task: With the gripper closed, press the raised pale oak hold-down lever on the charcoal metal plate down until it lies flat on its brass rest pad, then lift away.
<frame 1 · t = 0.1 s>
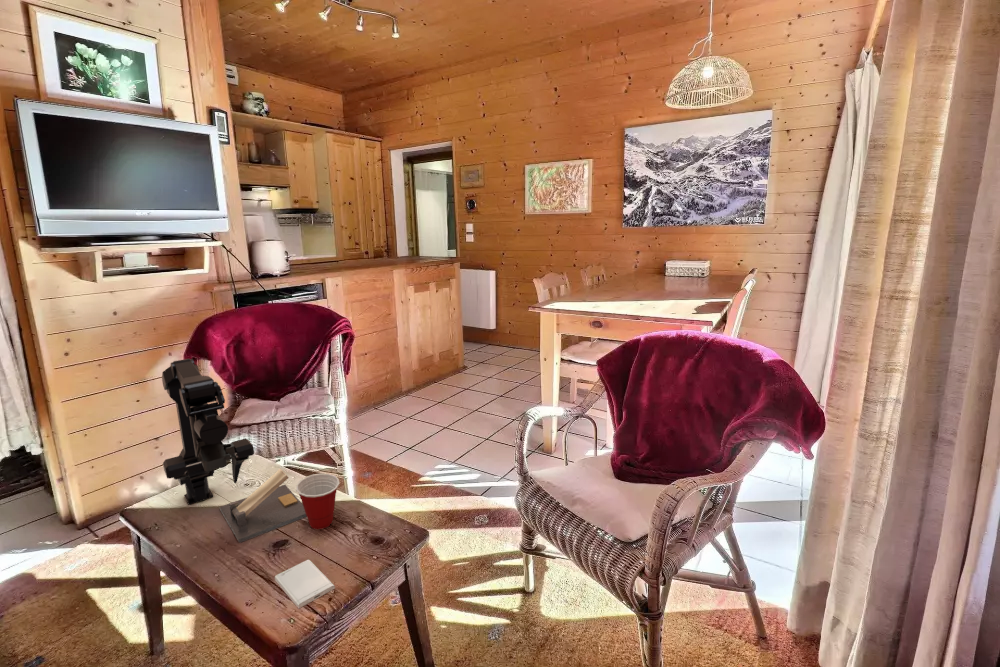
hand: (214, 488, 125), 15 cm above the table, fingers open, 9 cm apart
mounting plate: (264, 512, 140), on the table
lever: (260, 494, 138), point 6 cm above the table, hinge at 30.0°
plastic cup: (322, 524, 134), on the table
hard drive: (304, 586, 112), on the table
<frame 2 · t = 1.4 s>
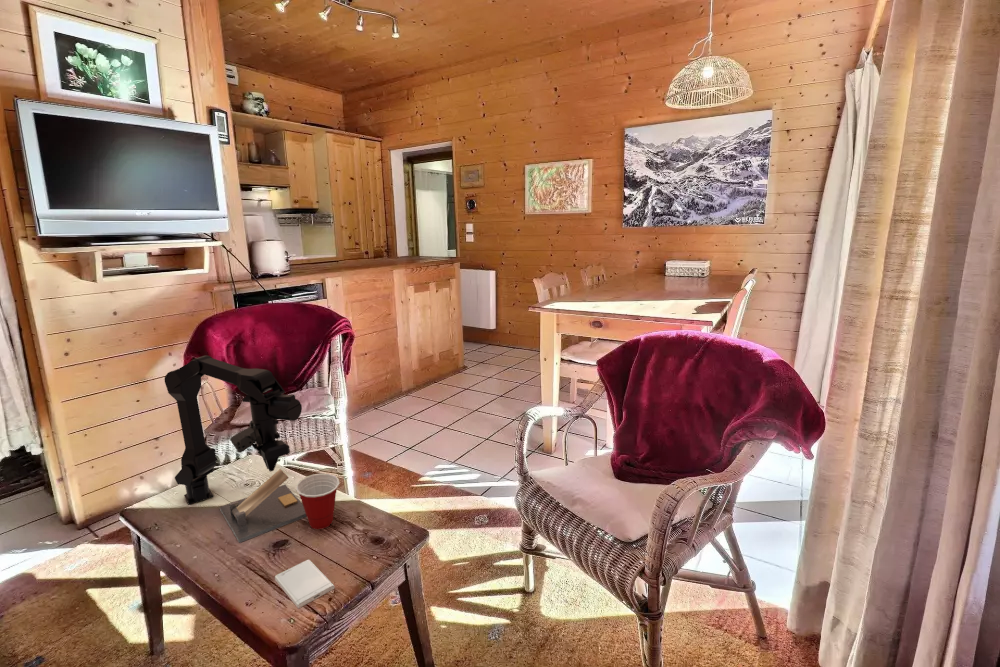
hand: (270, 469, 139), 12 cm above the table, fingers closed
nothing on the table moved.
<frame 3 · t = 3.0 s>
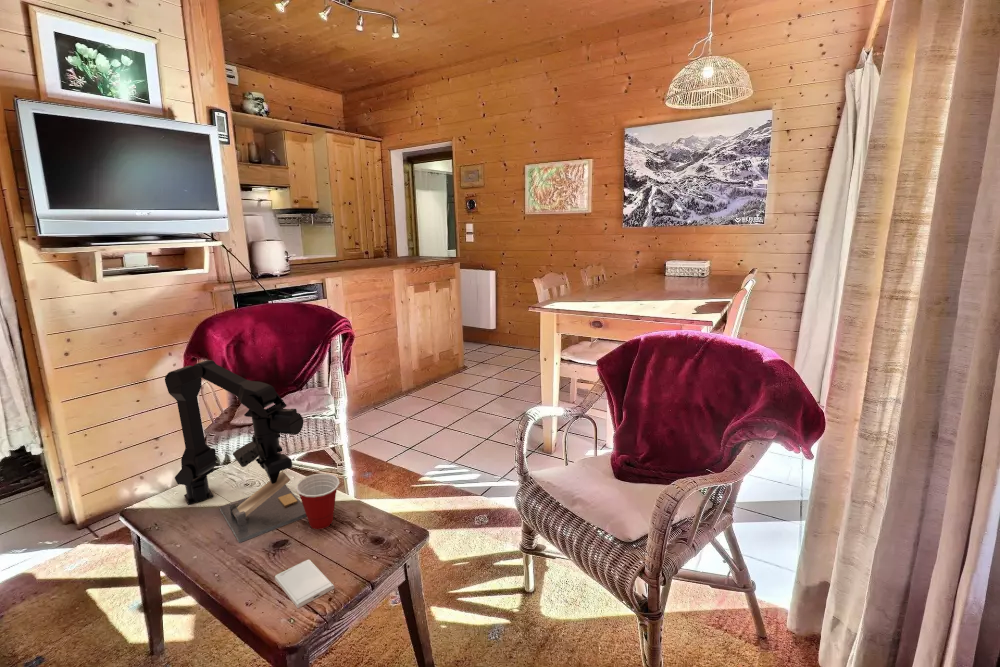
hand: (273, 482, 140), 8 cm above the table, fingers closed, pressing on lever
lever: (261, 495, 139), point 5 cm above the table, hinge at 26.3°, touching gripper
everything else where it was.
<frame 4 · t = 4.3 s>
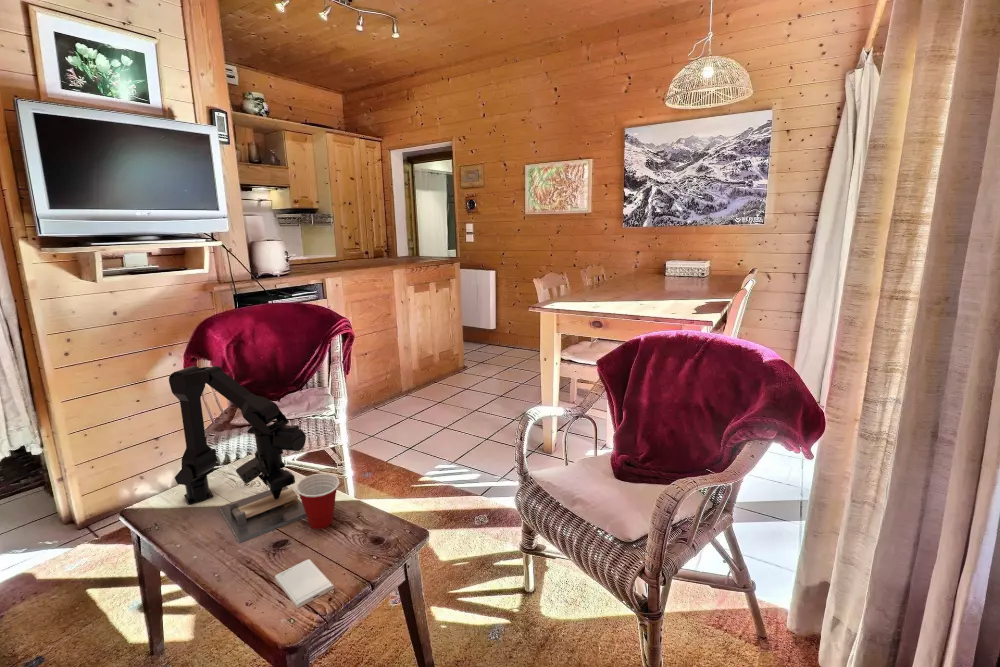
hand: (276, 498, 141), 3 cm above the table, fingers closed, pressing on lever
lever: (265, 504, 140), point 2 cm above the table, hinge at 1.9°, touching gripper
everything else where it was.
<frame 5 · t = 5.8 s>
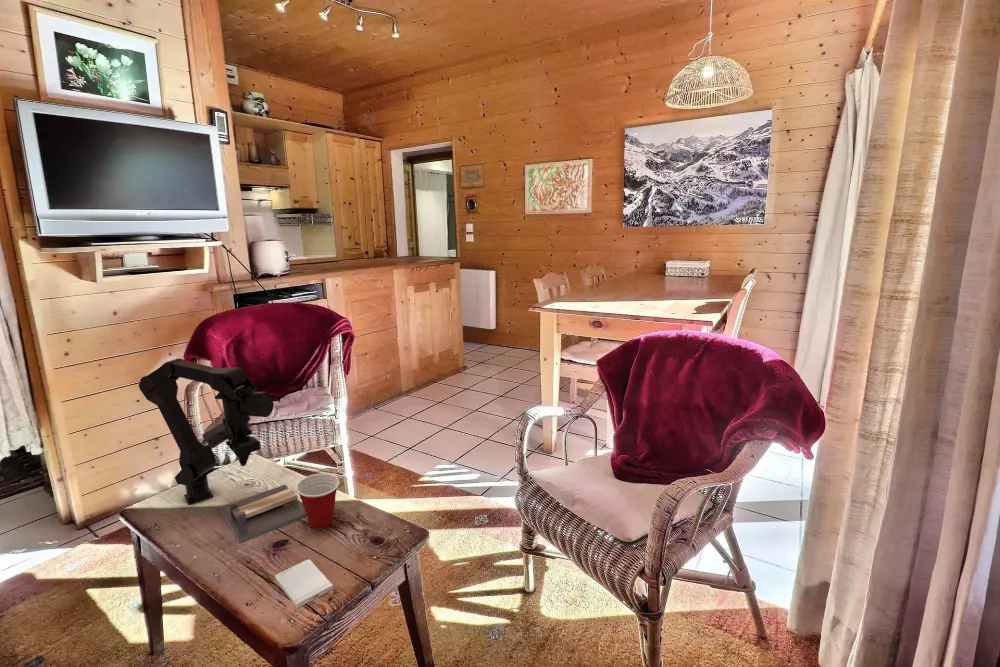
hand: (243, 465, 142), 12 cm above the table, fingers closed
lever: (265, 504, 140), point 2 cm above the table, hinge at 1.7°
everything else where it was.
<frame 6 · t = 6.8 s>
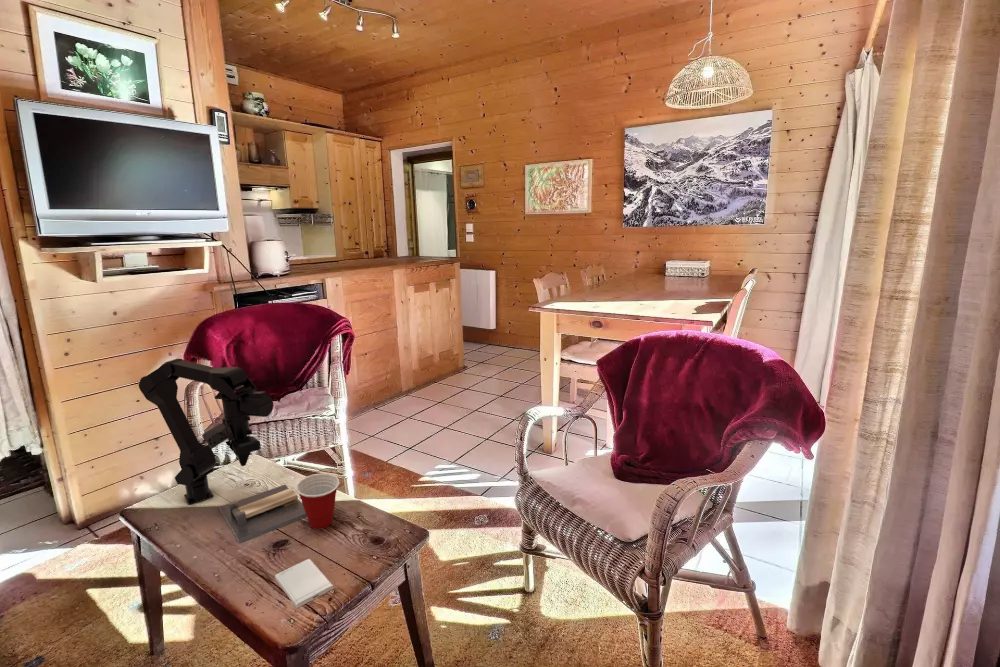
hand: (243, 465, 142), 12 cm above the table, fingers closed
nothing on the table moved.
at the end: lever at +2° (first picture: +30°); the gripper is holding nothing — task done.
